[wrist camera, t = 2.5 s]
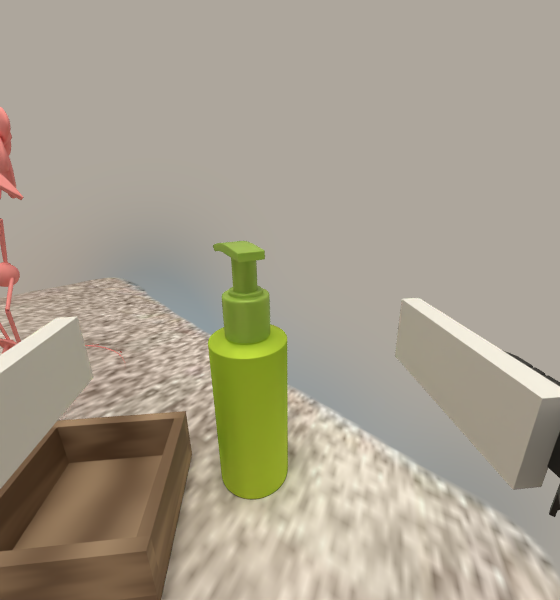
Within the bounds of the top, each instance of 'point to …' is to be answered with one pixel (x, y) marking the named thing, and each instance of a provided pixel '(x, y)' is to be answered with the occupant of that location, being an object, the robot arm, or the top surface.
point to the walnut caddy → (95, 509)
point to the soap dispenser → (249, 382)
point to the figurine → (4, 272)
